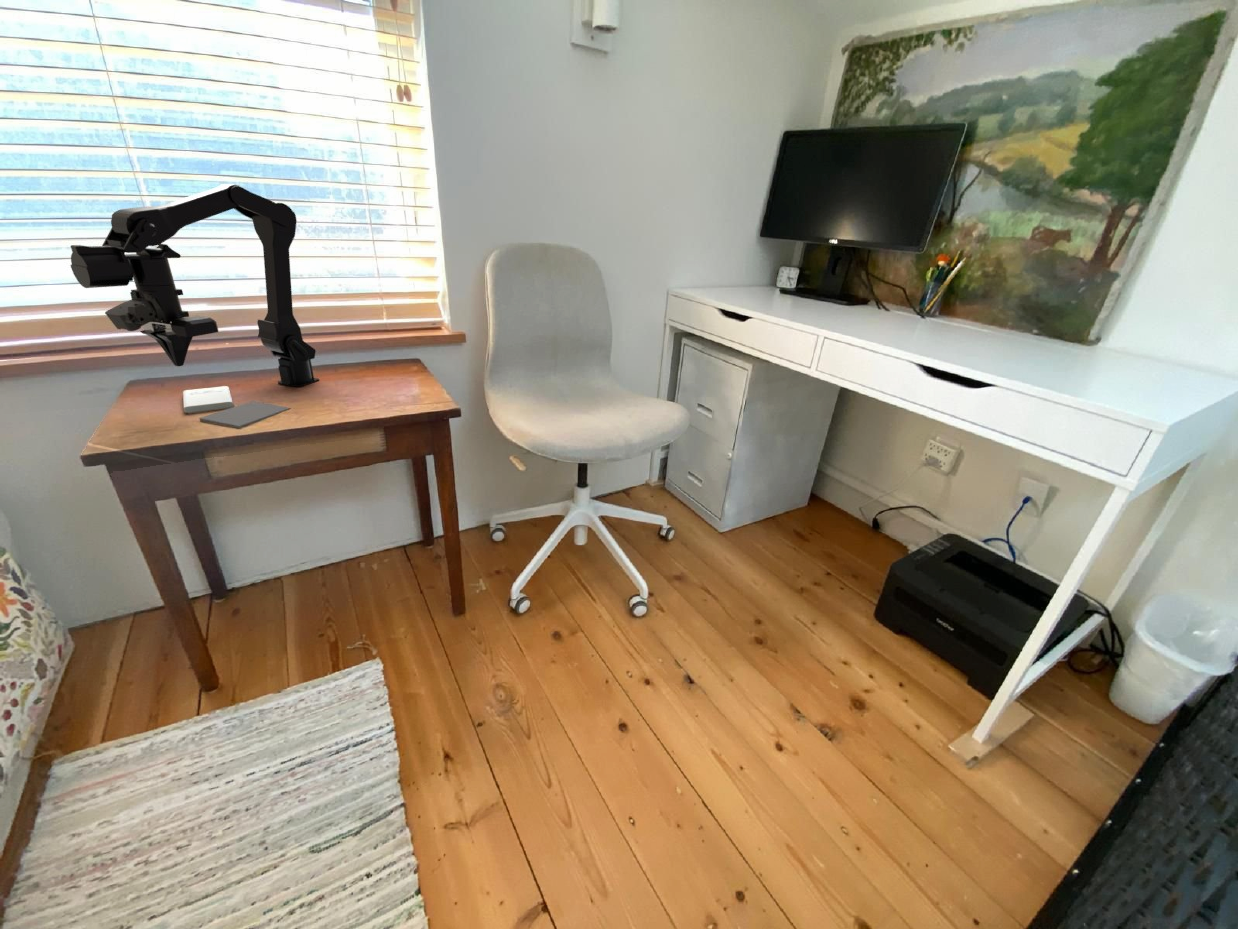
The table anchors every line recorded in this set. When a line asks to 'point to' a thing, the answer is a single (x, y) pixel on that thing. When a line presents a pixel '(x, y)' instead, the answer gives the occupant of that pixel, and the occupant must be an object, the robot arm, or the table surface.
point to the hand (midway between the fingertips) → (179, 365)
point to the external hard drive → (207, 399)
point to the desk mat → (244, 414)
